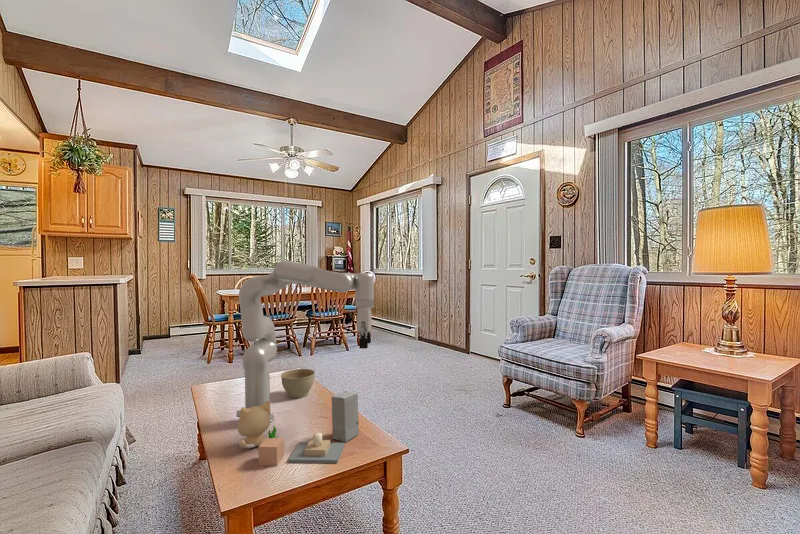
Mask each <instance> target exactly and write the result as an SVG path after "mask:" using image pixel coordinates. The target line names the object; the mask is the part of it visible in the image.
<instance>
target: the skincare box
mask: <svg viewBox="0 0 800 534" xmlns="http://www.w3.org/2000/svg"><path fill="white" fill-rule="evenodd" d="M358 394H359V393H358V392H354V391H353V392H352V391H348V390H347V391H345V390H344V391H342V392H339V393H337V394H335V395H332V396H331V414H332V415H331V419H332V420H331V421H332V427H331V428H332V439H333V440H334V441H335V440H336V441H339V442H341V443H345V444H346V443H347V442H349V441H351V440H352V439H353V438H355V437H357V436H359V434H360V433H359V432H360V431H359V396H358Z"/></svg>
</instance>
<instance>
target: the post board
mask: <svg viewBox="0 0 800 534" xmlns="http://www.w3.org/2000/svg"><path fill="white" fill-rule="evenodd" d="M312 434H313V435H312V439H310V440H309V441H307V442H306V441H300V442H299V443H298V444H297V446H296V447H295V449H294V450H293V452H292V454H291V455H290V457H289V458H288V463H292V464H293V463H295V464H296V463H299V464H303V463H305V464H338V462H339V460H340V458H341V455H342V453H343V450H344V448H345V445H346V443H345V442H331V439H323V433H322V432H315V433H312Z"/></svg>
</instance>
